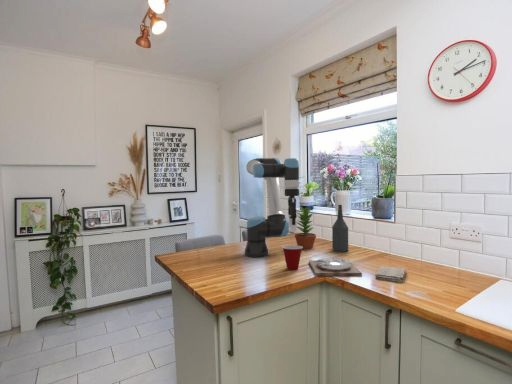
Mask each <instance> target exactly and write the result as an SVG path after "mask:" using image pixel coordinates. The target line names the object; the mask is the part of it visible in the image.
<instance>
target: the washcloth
mask: <svg viewBox="0 0 512 384" xmlns="http://www.w3.org/2000/svg"><path fill="white" fill-rule="evenodd" d="M405 274H406V268H404V267H391V266H385V265H380V266H379V268H378V270H377V271H376V273H375V274H374V276H375V278H374V279H376V280H377V279H378V280H381V281H387V282H388V281H389V282H394V283H402V282H403V281H404V278H405Z"/></svg>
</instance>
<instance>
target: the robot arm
mask: <svg viewBox="0 0 512 384" xmlns="http://www.w3.org/2000/svg"><path fill="white" fill-rule="evenodd" d="M299 162H300V161H299V159H298V158H293V157H292V158H285V159H284V162H283V163H282V161H281V159H280V158H277V157H276V158H275V157H270V158H269V157H265V158H264V157H263V158H262V157H257V158H253V159H250V160H249V161H248V162H247V163H246V168H245V169H246V171H247V173H249V174H250V175H253V178H259V179H264V180H265V182H266V183H265V184H266V191H267V192H266V193H267V204H268V213H269V214H268V215H267V218H266V217H265V216H256V217H251V218H248V219H247V221H246V245H245V249H244V256H245V257H249V258H250V257H251V258H264V257H268V256H269V248H268V246H267V241H266V239H267V238H282V237H286V236H287V235H288V233H289V230H290V232H297V227H296V226H297V217H298V214H297V199H296V197H299V196H300V189H299V188H300V184H301V182H300V163H299ZM280 178H282V179H283V178H284V180H283V181H284V183H283V186H284V196H285V197H288V199H287V206H288V209H287V210H288V211H287V215H288V217H286V214H285V213H284V212H283V207H282V205H283V204H282V195H281V188H280Z"/></svg>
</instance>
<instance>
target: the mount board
mask: <svg viewBox="0 0 512 384" xmlns="http://www.w3.org/2000/svg"><path fill="white" fill-rule="evenodd" d="M308 264H309V266H310V268H311V270H312V272H313V273H314V276H315V277H362V276H363V273H362V272H361V270H359V268H357V267H356V266H355V265H354V264H353V263H352V262H351V261H350V260H346V259H342V258H336V257H326V258H324V257H323V258H320V259H317V260H308Z"/></svg>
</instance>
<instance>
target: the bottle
mask: <svg viewBox="0 0 512 384" xmlns="http://www.w3.org/2000/svg"><path fill="white" fill-rule="evenodd" d="M337 206H338V207H337V218H336V220H335V222H334V223H333V224H332V234H331V235H332V239H331V242H332V246H331V247H332V251H333V252H339V253H344V252H348V251H349V227H348V225H347V223H346V221H345V220H344V217H343V216H344V215H343V214H344V213H343V205H342V204H338V205H337Z"/></svg>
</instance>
